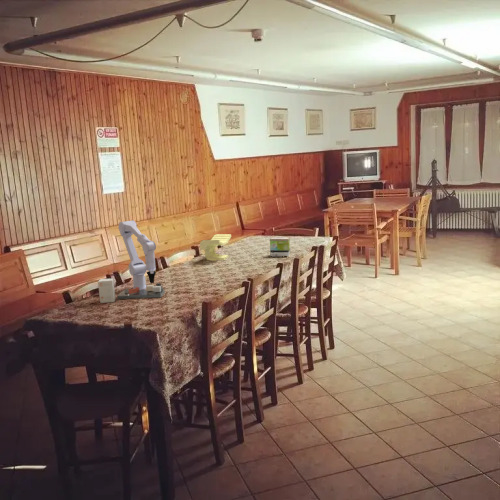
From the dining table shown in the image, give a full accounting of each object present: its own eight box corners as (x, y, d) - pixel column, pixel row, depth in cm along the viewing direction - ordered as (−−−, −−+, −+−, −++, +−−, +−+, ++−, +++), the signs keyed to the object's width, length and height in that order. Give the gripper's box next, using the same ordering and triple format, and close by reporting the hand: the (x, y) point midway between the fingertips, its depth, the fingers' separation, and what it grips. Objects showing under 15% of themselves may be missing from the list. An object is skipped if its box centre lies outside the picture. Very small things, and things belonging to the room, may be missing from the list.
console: (123, 293, 330) (122, 287, 329) (164, 292, 329) (164, 285, 328) (117, 299, 316) (116, 292, 316) (160, 297, 316) (160, 291, 315)
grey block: (154, 291, 323) (154, 286, 322) (161, 290, 323) (160, 285, 322) (153, 292, 320) (153, 287, 319) (160, 292, 320) (159, 287, 319)
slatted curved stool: (214, 255, 447) (212, 234, 444) (232, 255, 442) (231, 234, 439) (201, 262, 419) (199, 240, 415) (220, 262, 414) (219, 240, 411)
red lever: (138, 291, 323) (137, 286, 323) (140, 292, 321) (139, 286, 321) (124, 294, 318) (123, 288, 317) (125, 294, 316) (125, 289, 315)
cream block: (147, 289, 327) (147, 284, 326) (154, 289, 327) (153, 284, 326) (146, 290, 324) (146, 286, 323) (153, 290, 324) (152, 285, 323)
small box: (115, 299, 316) (113, 278, 314) (114, 302, 310) (112, 280, 308) (101, 300, 316) (99, 278, 314) (99, 303, 310) (97, 281, 307)
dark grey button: (156, 287, 327) (156, 283, 327) (161, 287, 327) (161, 283, 327) (155, 288, 324) (155, 284, 324) (160, 288, 324) (160, 284, 324)
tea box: (270, 257, 428) (269, 238, 426) (271, 254, 438) (271, 236, 436) (288, 256, 426) (288, 238, 423) (290, 254, 435) (289, 236, 433)
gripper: (142, 259, 334) (144, 281, 336) (144, 263, 320) (146, 286, 322) (154, 258, 335) (155, 279, 338) (156, 262, 322) (158, 284, 324)
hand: (152, 282), depth 330 cm, fingers closed
